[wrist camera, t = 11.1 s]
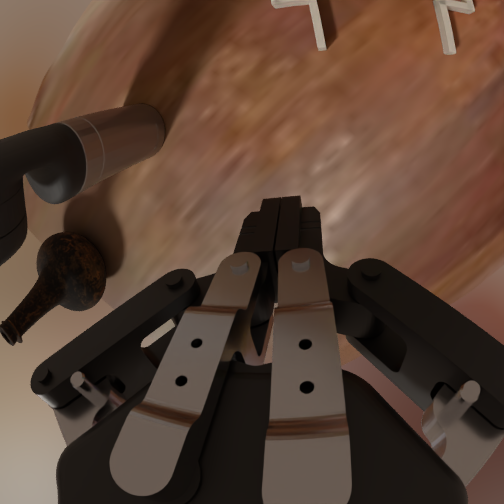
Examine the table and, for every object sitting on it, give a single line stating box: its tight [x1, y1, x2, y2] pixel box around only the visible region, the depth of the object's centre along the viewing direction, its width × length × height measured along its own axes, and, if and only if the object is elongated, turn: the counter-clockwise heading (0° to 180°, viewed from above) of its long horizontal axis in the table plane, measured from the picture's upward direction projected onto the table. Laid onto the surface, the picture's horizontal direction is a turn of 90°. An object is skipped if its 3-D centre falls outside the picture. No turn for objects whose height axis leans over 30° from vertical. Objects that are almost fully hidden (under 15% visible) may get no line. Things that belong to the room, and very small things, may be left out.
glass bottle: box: [0, 232, 106, 346], centre depth 49 cm, size 18×18×28 cm
